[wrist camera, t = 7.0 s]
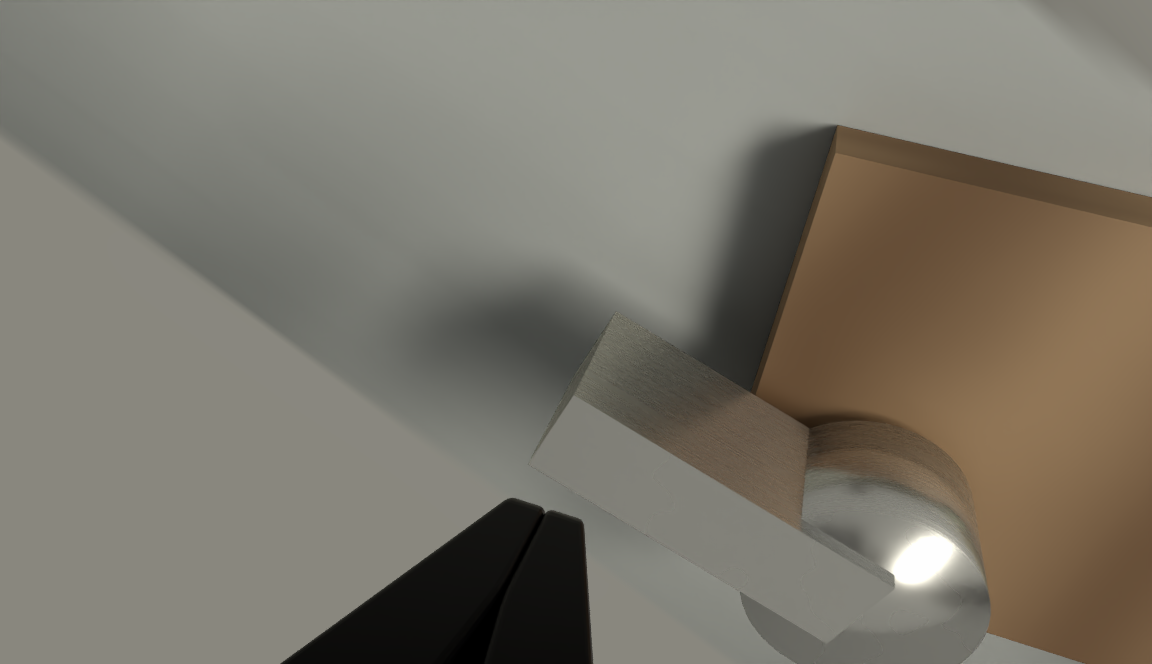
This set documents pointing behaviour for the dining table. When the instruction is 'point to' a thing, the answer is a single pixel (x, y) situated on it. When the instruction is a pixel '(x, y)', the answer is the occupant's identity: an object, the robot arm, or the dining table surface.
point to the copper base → (992, 366)
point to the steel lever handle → (778, 505)
